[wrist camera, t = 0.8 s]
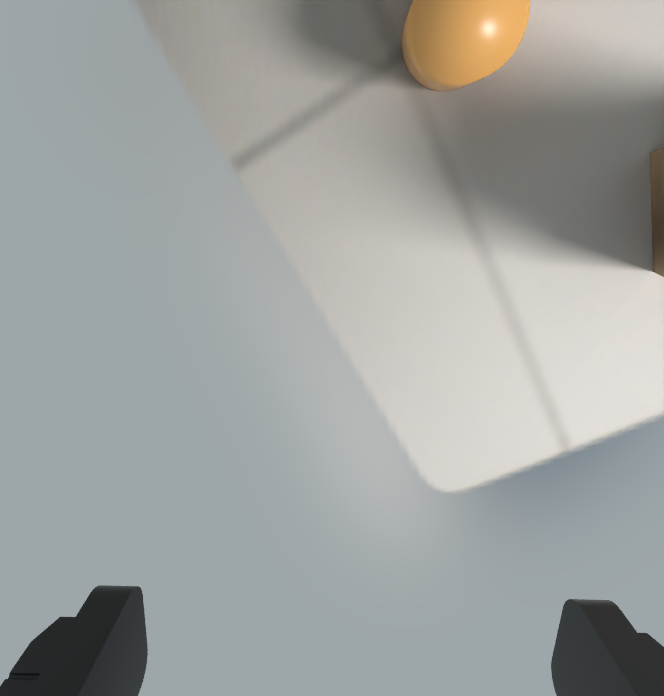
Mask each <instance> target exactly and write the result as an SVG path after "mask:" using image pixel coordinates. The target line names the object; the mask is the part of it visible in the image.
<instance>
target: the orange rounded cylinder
mask: <svg viewBox="0 0 664 696" xmlns="http://www.w3.org/2000/svg"><path fill="white" fill-rule="evenodd" d="M529 12H530V0H413V2H412V4H411V7H410V10H409V12H408V15H407V18H406V21H405V24H404V28H403V33H402V52H403V57H404V61H405V64H406V66H407V68H408V70H409V72H410V73H411V75H412V76H413V77H414V78H415V79H416V80H417V81H418V82H419V83H420V84H421V85H423V86H425V87H427V88H429V89H431V90H435V91H452V90H456V89H459V88H462V87H464V86H466V85H468V84H470V83H473V82H475V81H477V80H479V79H482V78H484V77H486V76H488V75H490V74H491V73H493V72H495V71H496V70H497V69H499V68H500V67H501V66H502V65H503V64H504V63H505V62H507V60H508V59H509V58H510V57H511V56H512V55H513V53H514V52H515V50H516V49H517V47H518V45H519V43H520V42H521V40H522V37H523V35H524V32H525V30H526V26H527V23H528V18H529Z"/></svg>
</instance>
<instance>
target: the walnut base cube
mask: <svg viewBox="0 0 664 696" xmlns="http://www.w3.org/2000/svg"><path fill="white" fill-rule="evenodd" d="M650 169H651V207H652V245H653V272H655V273H657V274H659V275H661V276H663V277H664V149H660V150H657V151H653V152H650Z"/></svg>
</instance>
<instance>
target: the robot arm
mask: <svg viewBox="0 0 664 696" xmlns="http://www.w3.org/2000/svg"><path fill="white" fill-rule="evenodd" d="M146 664H147V638H146V626H145V615H144V605H143V594H142V590H141V588H140V587H137V586H97V587H95V588H94V589H93V590H92V592H91V593H90V595H89V596H88V598H87V600H86V601H85V603H84V604H83V606H82V608H81V609H80V611H79V613H78V614H77V616H76V617H60V618H58V619H57V620H56V621H55V622H54V623H53V624H51V625H50V626H49V627H48V628H47V629H46V630H44V631H43V632H42V633H41V634H40V635H39V636H37V637H36V638H35V639H34V640H33V641H32V642H31V643H30V644H29V646H28V647H27V649H26V650H25V651H24V653H23V654H22V656H21V657H20V659H19V660H18V662H17V663H16V664H15V666H14V668H13V669H12V670H11V672H10V675H9V678H8V679H5V680H4V682H3V683H2V685H1V686H0V696H138V694H139V691H140V688H141V685H142V682H143V679H144V674H145V670H146ZM551 669H552V679H553V683H554V688H555V692H556V695H557V696H664V647H663V646H662V645H661V644H659V643H658V642H657V641H656V640H655V639H653V638H652V637H651V636H650V635H648V634H647V633H637V632H636V630H635V629H634V628H633V626H632V625H631V624H630V622H629V621H628V620H627V618H626V617H625V615H624V614H623V613H622V611H621V610H620V609H619V607H618V606H617V605H616V604H615V603H613V602H612V601H609V600H577V599H569V600H567V601H566V602H565V604H564V606H563V611H562V615H561V620H560V624H559V629H558V633H557V638H556V643H555V648H554V652H553V657H552V664H551Z"/></svg>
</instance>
